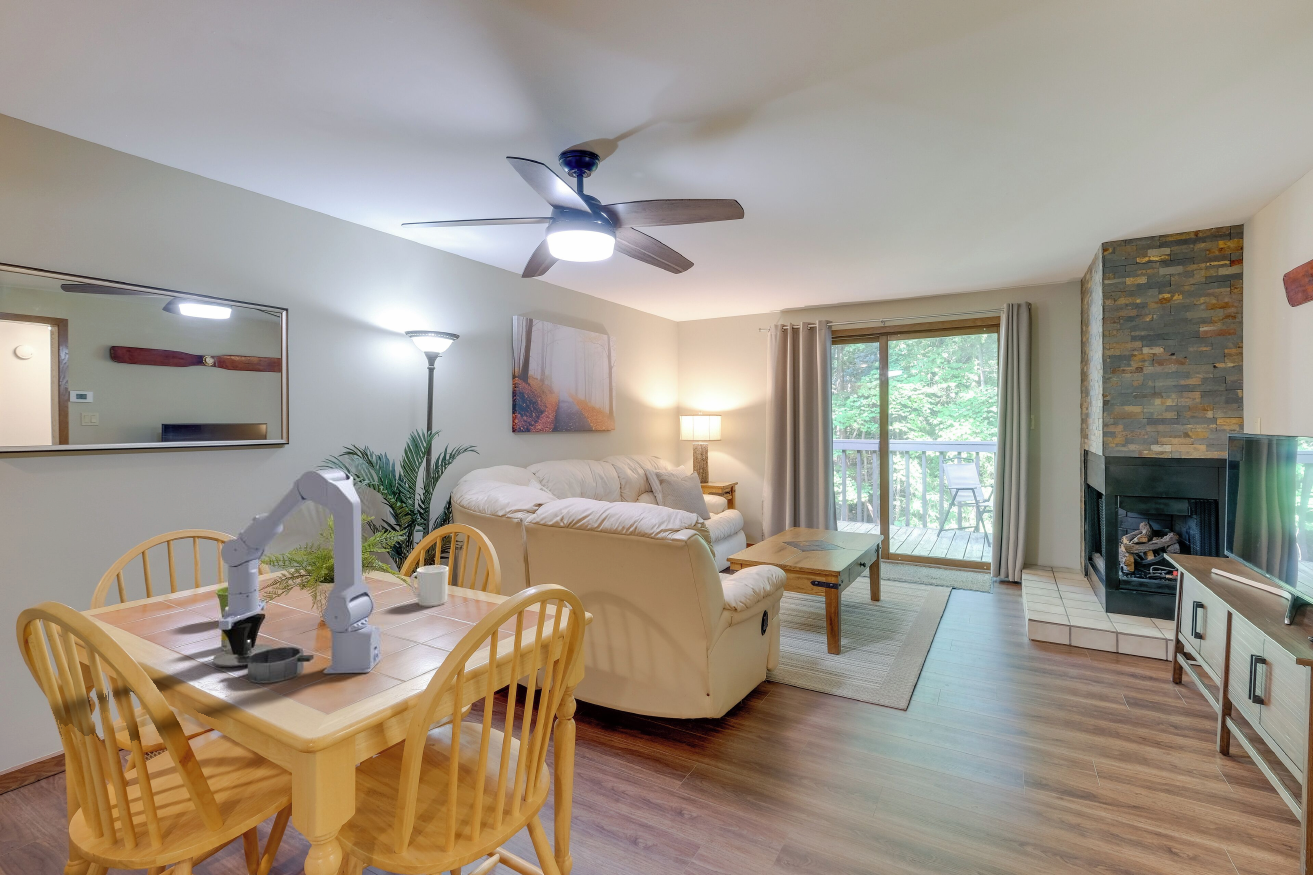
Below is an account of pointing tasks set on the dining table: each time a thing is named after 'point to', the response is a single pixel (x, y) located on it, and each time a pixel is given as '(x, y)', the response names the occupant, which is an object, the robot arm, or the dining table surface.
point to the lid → (231, 660)
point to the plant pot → (222, 598)
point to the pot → (275, 664)
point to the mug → (431, 585)
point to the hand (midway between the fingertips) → (243, 650)
